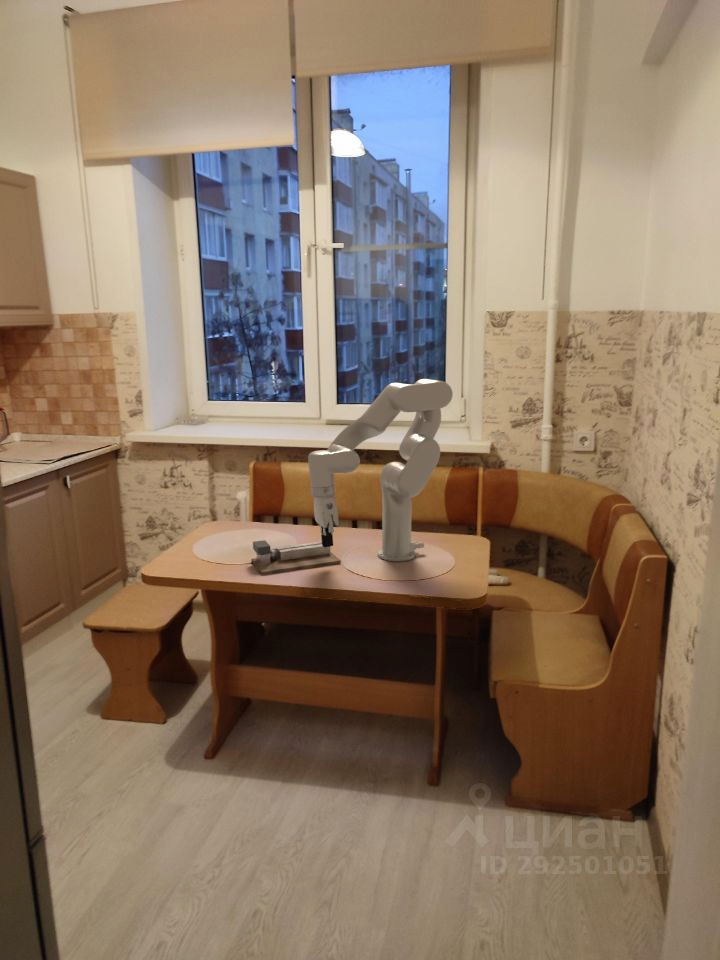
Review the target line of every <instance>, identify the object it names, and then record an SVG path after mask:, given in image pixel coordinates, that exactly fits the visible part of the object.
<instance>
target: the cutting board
mask: <svg viewBox="0 0 720 960" xmlns="http://www.w3.org/2000/svg"><path fill="white" fill-rule="evenodd" d="M330 553H331V554H325V555H318V556H311V557H304V558H297V559H290V560H283V561H281V560H280V559H278V558H276V560H273V561H271V560H270V564H266V565H261V564H260V563H259V561H258V560H257V557H254V558H251V563H252V564H253V566H254V567H255V568H256V570H257V571H258V572H259V573H260V575H261V576H266V575H271V574H277V573H286V572H291V571H300V570H307V569H312V568H318V567H325V566H326V567H327V566H332V565H338V564H339V565H340V564H341V563H342V561H341V559H340V558H339V557H337V556H336V555H335V554H334V553H332V552H331V551H330Z"/></svg>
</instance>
